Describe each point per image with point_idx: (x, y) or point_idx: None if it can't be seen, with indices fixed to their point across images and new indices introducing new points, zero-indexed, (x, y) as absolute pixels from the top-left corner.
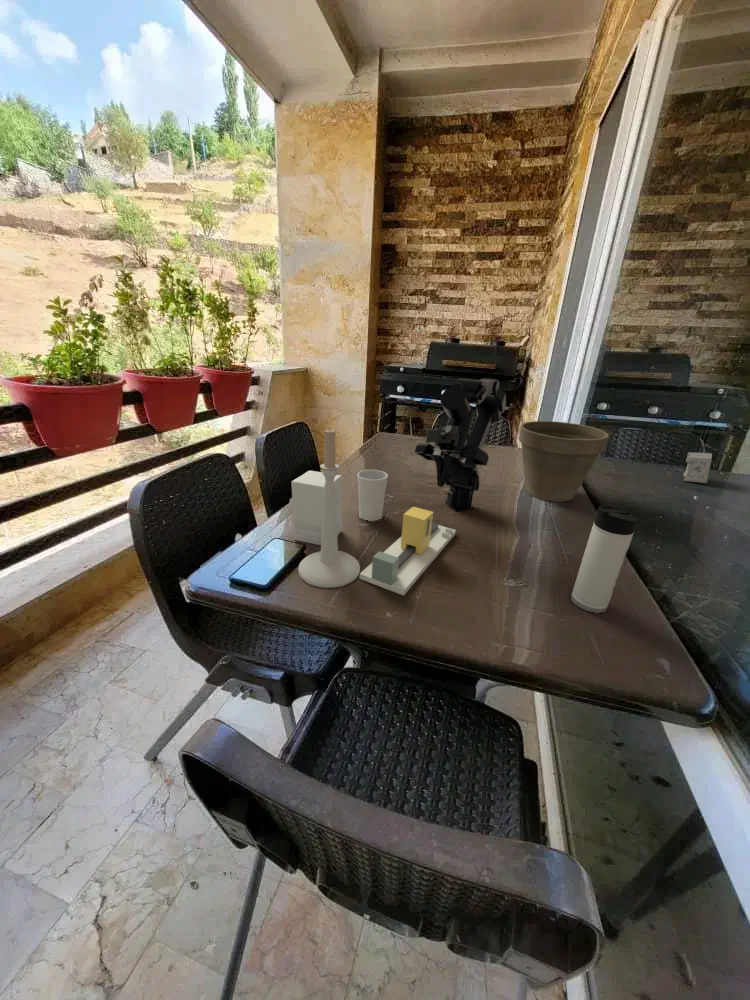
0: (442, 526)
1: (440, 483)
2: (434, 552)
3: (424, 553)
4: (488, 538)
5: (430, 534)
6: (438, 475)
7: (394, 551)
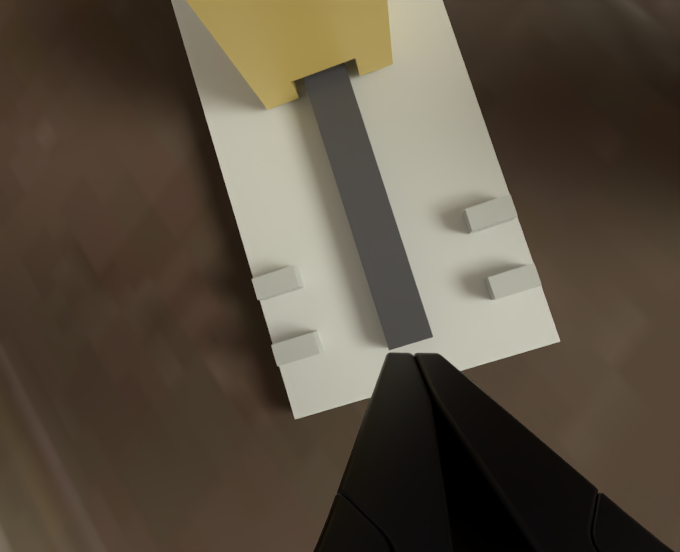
0: None
1: (387, 365)
2: (207, 85)
3: None
4: (143, 532)
5: (243, 75)
6: (499, 437)
7: None
